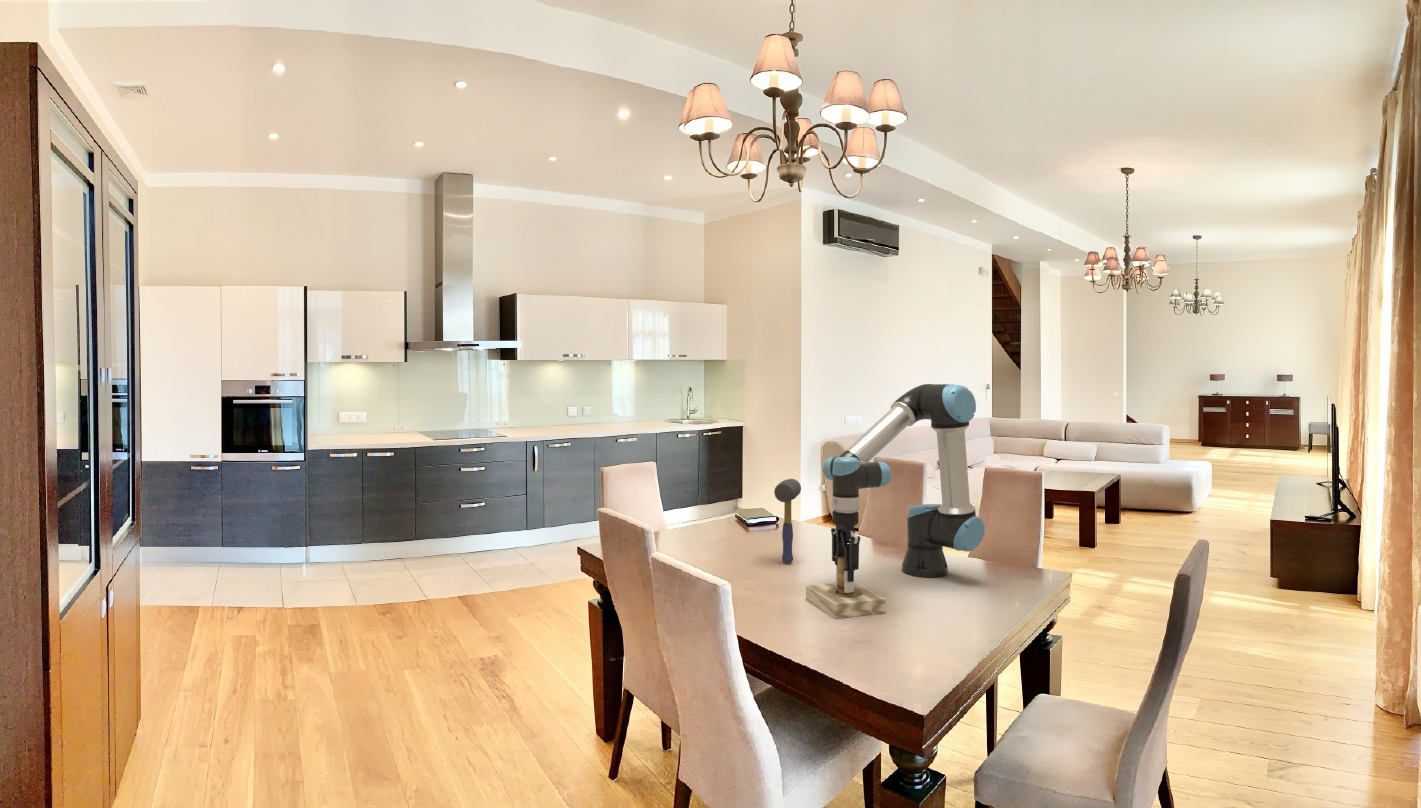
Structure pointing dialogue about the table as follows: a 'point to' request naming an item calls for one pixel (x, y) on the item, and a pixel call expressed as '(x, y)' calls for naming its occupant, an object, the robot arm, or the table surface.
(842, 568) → the peg
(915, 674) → the table surface
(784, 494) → the rubber mallet
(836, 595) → the board
